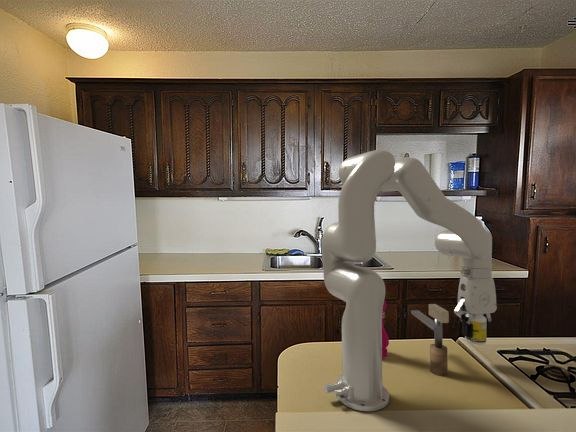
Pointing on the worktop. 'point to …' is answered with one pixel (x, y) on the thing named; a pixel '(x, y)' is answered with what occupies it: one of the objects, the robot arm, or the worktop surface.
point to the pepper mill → (384, 335)
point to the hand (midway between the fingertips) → (475, 334)
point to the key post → (438, 360)
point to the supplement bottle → (478, 329)
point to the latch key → (436, 325)
